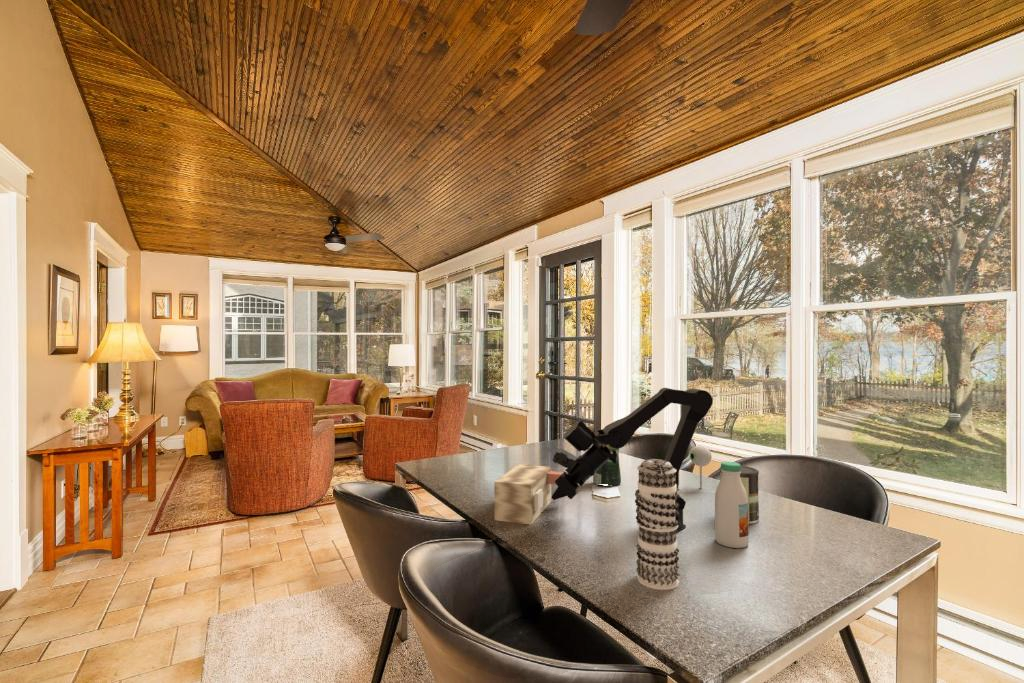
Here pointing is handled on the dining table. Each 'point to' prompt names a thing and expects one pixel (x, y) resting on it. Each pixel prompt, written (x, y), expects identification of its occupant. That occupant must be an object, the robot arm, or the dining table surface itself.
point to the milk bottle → (731, 508)
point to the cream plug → (538, 499)
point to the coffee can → (750, 491)
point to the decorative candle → (657, 525)
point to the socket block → (521, 493)
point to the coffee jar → (608, 471)
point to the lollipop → (700, 458)
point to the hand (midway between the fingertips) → (552, 498)
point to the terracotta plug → (552, 476)
